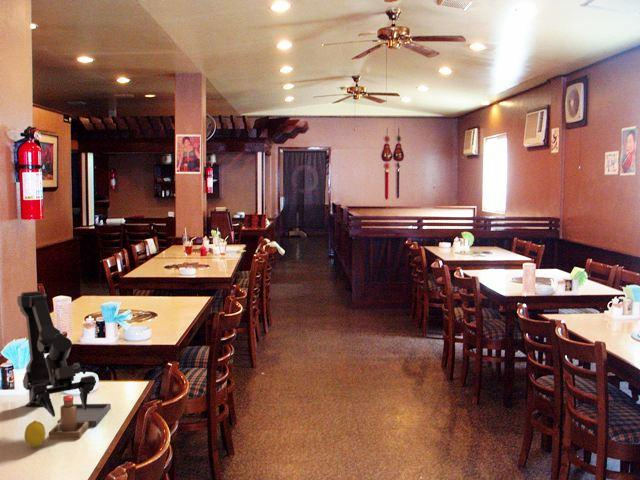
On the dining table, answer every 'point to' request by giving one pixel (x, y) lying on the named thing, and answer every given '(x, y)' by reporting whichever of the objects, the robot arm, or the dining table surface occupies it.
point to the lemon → (35, 434)
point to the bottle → (68, 415)
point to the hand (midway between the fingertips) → (70, 412)
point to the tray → (91, 413)
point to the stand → (69, 435)
